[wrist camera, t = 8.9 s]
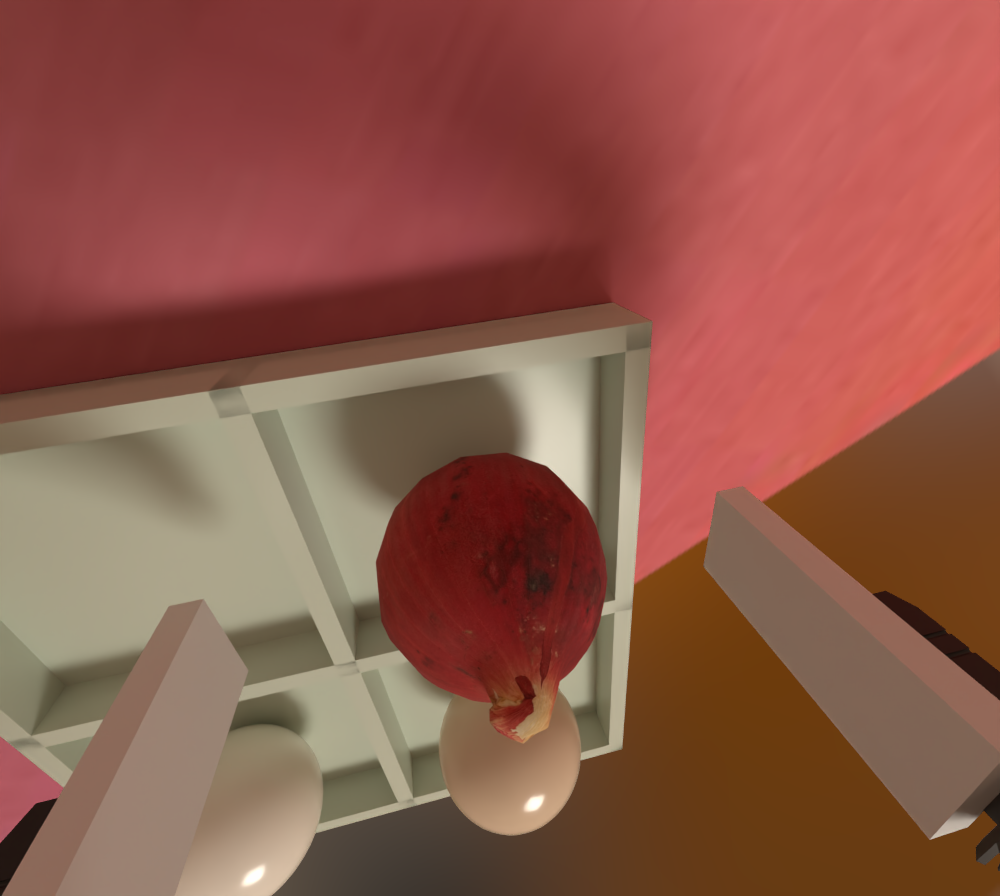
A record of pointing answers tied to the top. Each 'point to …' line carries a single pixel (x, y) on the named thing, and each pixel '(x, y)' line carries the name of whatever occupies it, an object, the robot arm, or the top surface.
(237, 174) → the top surface
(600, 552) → the onion
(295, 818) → the cream egg
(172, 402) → the egg tray
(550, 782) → the brown egg
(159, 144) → the top surface
